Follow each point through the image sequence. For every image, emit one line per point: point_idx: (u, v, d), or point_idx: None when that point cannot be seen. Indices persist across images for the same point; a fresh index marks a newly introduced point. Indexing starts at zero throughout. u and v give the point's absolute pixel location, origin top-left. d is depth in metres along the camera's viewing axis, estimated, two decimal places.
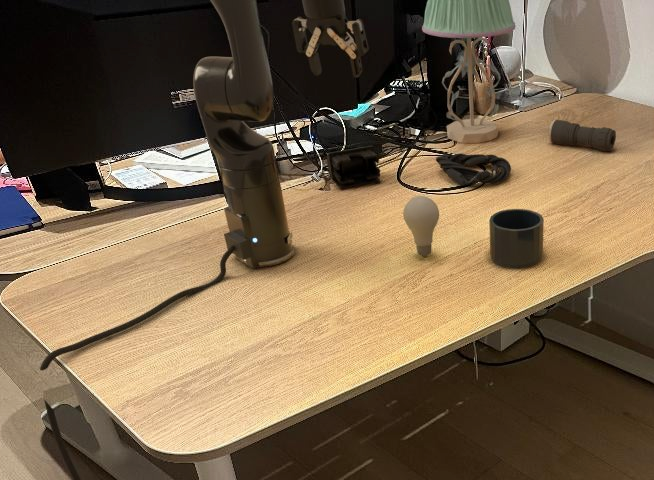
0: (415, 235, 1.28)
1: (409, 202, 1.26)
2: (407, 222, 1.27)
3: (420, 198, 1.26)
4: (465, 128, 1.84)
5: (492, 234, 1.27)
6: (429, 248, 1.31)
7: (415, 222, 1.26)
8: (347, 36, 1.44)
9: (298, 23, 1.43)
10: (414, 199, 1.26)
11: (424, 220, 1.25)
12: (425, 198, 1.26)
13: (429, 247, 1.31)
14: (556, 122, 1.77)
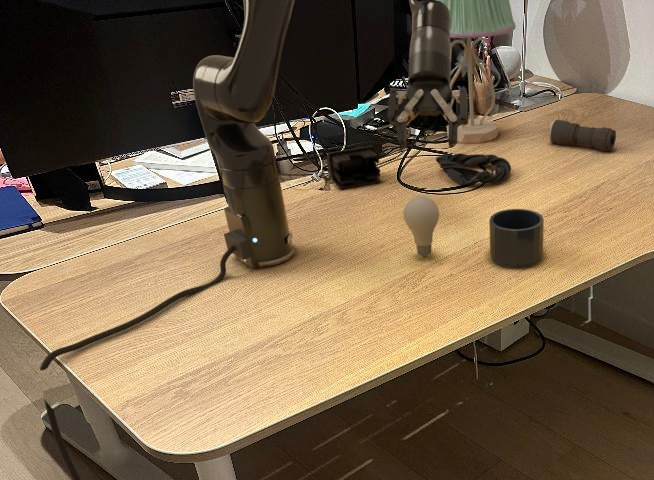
0: (415, 235, 1.28)
1: (409, 202, 1.26)
2: (407, 222, 1.27)
3: (420, 198, 1.26)
4: (465, 128, 1.84)
5: (492, 234, 1.27)
6: (429, 248, 1.31)
7: (415, 222, 1.26)
8: None
9: (396, 91, 1.33)
10: (414, 199, 1.26)
11: (424, 220, 1.25)
12: (425, 198, 1.26)
13: (429, 247, 1.31)
14: (556, 122, 1.77)
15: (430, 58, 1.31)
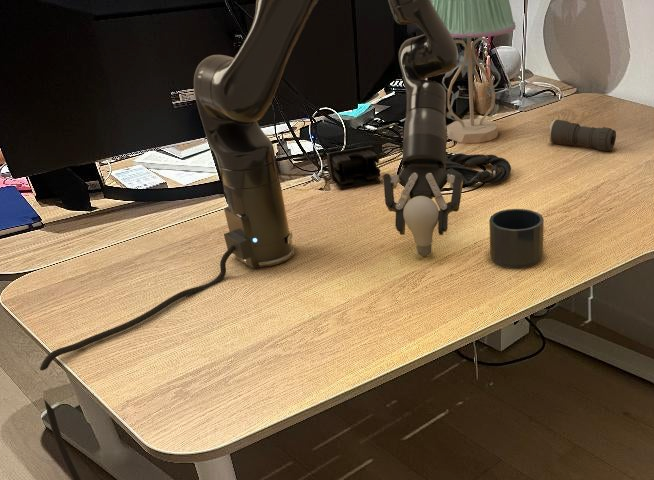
0: (415, 235, 1.28)
1: (409, 202, 1.26)
2: (407, 222, 1.27)
3: (420, 198, 1.26)
4: (465, 128, 1.84)
5: (492, 234, 1.27)
6: (429, 248, 1.31)
7: (415, 222, 1.26)
8: None
9: (390, 176, 1.29)
10: (414, 199, 1.26)
11: (424, 220, 1.25)
12: (425, 198, 1.26)
13: (429, 247, 1.31)
14: (556, 122, 1.77)
15: (425, 141, 1.27)
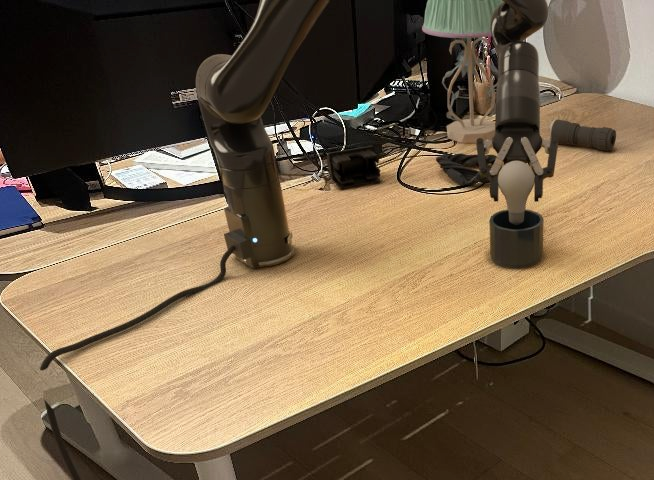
0: (509, 202, 1.24)
1: (505, 167, 1.22)
2: (502, 188, 1.23)
3: (516, 162, 1.22)
4: (465, 128, 1.84)
5: (492, 234, 1.27)
6: (522, 215, 1.27)
7: (511, 187, 1.21)
8: None
9: (483, 141, 1.25)
10: (510, 164, 1.22)
11: (521, 185, 1.21)
12: (521, 163, 1.22)
13: (522, 214, 1.27)
14: (556, 122, 1.77)
15: (521, 104, 1.23)
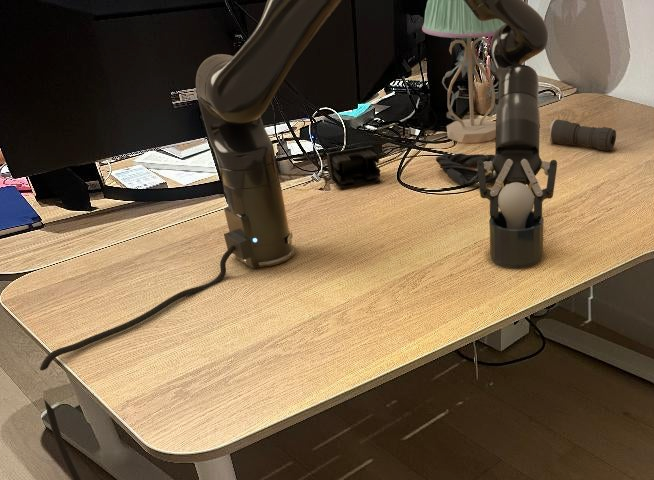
0: (509, 222, 1.27)
1: (505, 189, 1.24)
2: (502, 209, 1.25)
3: (516, 184, 1.24)
4: (465, 128, 1.84)
5: (492, 234, 1.27)
6: None
7: (511, 209, 1.24)
8: None
9: (483, 163, 1.27)
10: (510, 185, 1.24)
11: (521, 207, 1.23)
12: (521, 184, 1.24)
13: None
14: (556, 122, 1.77)
15: (521, 127, 1.25)
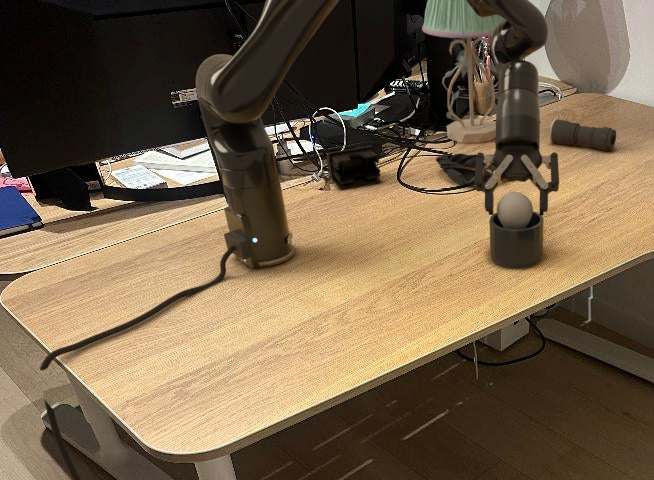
0: None
1: (504, 198, 1.25)
2: (501, 218, 1.26)
3: (515, 194, 1.25)
4: (465, 128, 1.84)
5: (492, 234, 1.27)
6: None
7: (510, 218, 1.25)
8: None
9: (483, 156, 1.27)
10: (509, 195, 1.25)
11: (520, 216, 1.24)
12: (520, 194, 1.25)
13: None
14: (556, 122, 1.77)
15: (521, 122, 1.24)
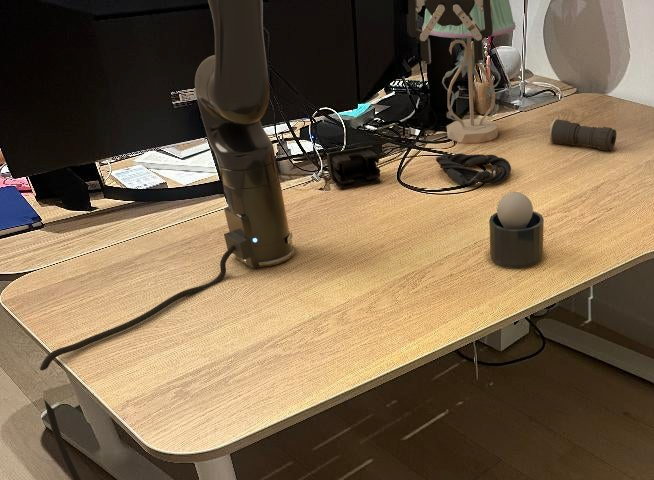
0: None
1: (504, 198, 1.25)
2: (501, 218, 1.26)
3: (515, 194, 1.25)
4: (465, 128, 1.84)
5: (492, 234, 1.27)
6: None
7: (510, 218, 1.25)
8: (469, 17, 1.27)
9: (415, 1, 1.25)
10: (509, 195, 1.25)
11: (520, 216, 1.24)
12: (520, 194, 1.25)
13: None
14: (557, 122, 1.77)
15: None
